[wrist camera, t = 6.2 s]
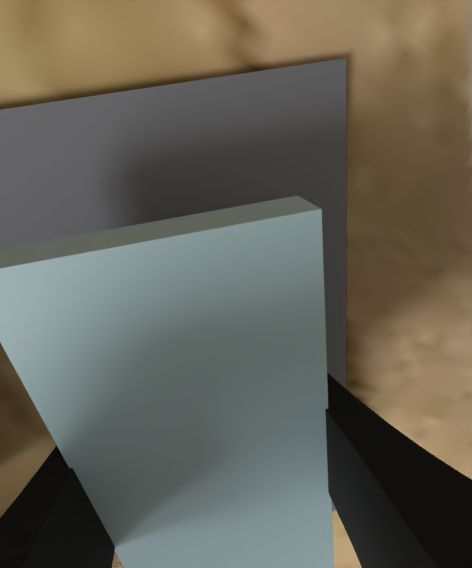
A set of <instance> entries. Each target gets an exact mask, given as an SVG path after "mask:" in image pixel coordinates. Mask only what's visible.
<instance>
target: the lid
mask: <svg viewBox="0 0 472 568" xmlns="http://www.w3.org/2000/svg"><path fill="white" fill-rule="evenodd" d="M0 343H1V345H2V346H3V348H4V350H5V352H6V354H7V355H8V357H9V359H10V361H11V363H12V365H13V366H14V368H15V370H16V372H17V374H18V376H19V377H20V379H21V381H22V383H23V385H24V386H25V388H26V390H27V392H28V394H29V396H30V397H31V399H32V401H33V403H34V405H35V407H36V408H37V410H38V412H39V414H40V416H41V417H42V419H43V421H44V423H45V425H46V427H47V428H48V430H49V432H50V434H51V436H52V438H53V439H54V441H55V443H56V445H57V447H58V448H59V450H60V452H61V454H62V456H63V458H64V459H65V461H66V463H67V465H68V467H69V468H73V470H74V472H75V473H76V475H77V477H78V479H79V481H80V483H81V485H82V486H83V488H84V490H85V492H86V494H87V496H88V498H89V499H90V501H91V503H92V505H93V507H94V509H95V511H96V512H97V514H98V516H99V518H100V520H101V522H102V524H103V525H104V527H105V529H106V531H107V533H108V535H109V536H110V538H111V540H112V542H113V544H114V546H115V552H116V554H117V556H118V558H119V560H120V562H121V563H122V565H123V567H124V568H334V561H333V532H332V502H331V497H330V495H329V492H328V466H327V439H326V412H325V409H328V384H327V355H326V326H325V296H324V267H323V237H322V209H321V208H319V207H317V206H315V205H314V204H312V203H310V202H308V201H306V200H305V199H303V198H301V197H299V196H292V197H286V198H281V199H275V200H270V201H264V202H259V203H253V204H248V205H242V206H237V207H231V208H226V209H220V210H215V211H209V212H204V213H198V214H193V215H187V216H181V217H176V218H170V219H165V220H159V221H154V222H148V223H143V224H137V225H132V226H126V227H121V228H115V229H110V230H104V231H99V232H93V233H88V234H82V235H77V236H71V237H66V238H60V239H55V240H49V241H43V242H38V243H32V244H27V245H21V246H16V247H10V248H5V249H2V250H0Z"/></svg>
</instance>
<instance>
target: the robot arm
mask: <svg viewBox="0 0 472 568" xmlns="http://www.w3.org/2000/svg"><path fill="white" fill-rule="evenodd" d="M327 384H328V409H325V412H326V439H327V466H328V492H329V495H330V497H331V500H332V502H333V504H334V506H335V508H336V510H337V512H338V515H339V517H340V519H341V521H342V523H343V525H344V527H345V530H346V532H347V534H348V536H349V538H350V540H351V543H352V545H353V547H354V550H355V552H356V554H357V557H358V559H359V561H360V564H361V566H362V568H472V480H471V479H470V478H468V477H466V476H465V475H463V474H461V473H460V472H458V471H457V470H455V469H454V468H452V467H451V466H449V465H447V464H446V463H444V462H443V461H441V460H440V459H438V458H437V457H435V456H434V455H432V454H431V453H429V452H428V451H426V450H425V449H423V448H422V447H420V446H419V445H418V444H416V443H415V442H413V441H412V440H411V439H409V438H408V437H406V436H405V435H404V434H402V433H401V432H400V431H398V430H397V429H395V428H394V427H393V426H392V425H390V424H389V423H388V422H386V421H385V420H384V419H382V418H381V417H380V416H379V415H377V414H376V413H375V412H374V411H372V410H371V409H370V408H369V407H367V406H366V405H365V404H364V403H362V402H361V401H360V400H359V399H358V398H356V397H355V396H354V395H353V394H352V393H350V392H349V391H348V390H347V389H346V388H345V387H344V386H342V385H341V384H340V383H339V382H338V381H337V380H336V379H334V378H333V377H332V376H331V375H330V374H329V373H328V372H327ZM114 551H115V546H114V544H113V542H112V540H111V538H110V536H109V535H108V533H107V531H106V529H105V527H104V525H103V524H102V522H101V520H100V518H99V516H98V514H97V512H96V511H95V509H94V507H93V505H92V503H91V501H90V499H89V498H88V496H87V494H86V492H85V490H84V488H83V486H82V485H81V483H80V481H79V479H78V477H77V475H76V473H75V472H74V470H73V468H69V467H68V465H67V463H66V461H65V459H64V458H63V456H62V454H61V452H60V450H59V448H58V447H57V446H56V447H55V449H54V450H53V451H52V453H51V454H50V455H49V457H48V458H47V459H46V461H45V462H44V463H43V465H42V466H41V467H40V469H39V470H38V471H37V472H36V474H35V475H34V476H33V478H32V479H31V480H30V482H29V483H28V484H27V486H26V487H25V488H24V489H23V491H22V492H21V493H20V495H19V496H18V497H17V498H16V500H15V501H14V502H13V503H12V504H11V506H10V507H9V508H8V509H7V511H6V512H5V513H4V514H3V515H2V517H1V518H0V568H111V567H112V562H113V556H114Z"/></svg>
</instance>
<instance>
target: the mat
mask: <svg viewBox="0 0 472 568" xmlns="http://www.w3.org/2000/svg"><path fill="white" fill-rule="evenodd" d="M292 196H299V197H301V198H303V199H305V200H306V201H308V202H310V203H312V204H314V205H315V206H317V207H319V208H321V209H322V237H323V267H324V296H325V326H326V355H327V372H328V373H329V374H330V375H331V376H332V377H333V378H334V379H336V380H337V381H338V382H339V383H340V384H341V385H342V386H344V387H345V388H346V58H343V59H336V60H329V61H323V62H316V63H309V64H303V65H296V66H289V67H283V68H276V69H269V70H263V71H256V72H249V73H242V74H236V75H229V76H222V77H216V78H209V79H202V80H196V81H189V82H182V83H176V84H169V85H162V86H156V87H149V88H142V89H135V90H129V91H122V92H115V93H109V94H102V95H95V96H89V97H82V98H75V99H69V100H62V101H55V102H49V103H42V104H35V105H28V106H22V107H15V108H8V109H2V110H0V250H2V249H5V248H10V247H16V246H21V245H27V244H32V243H38V242H43V241H49V240H55V239H60V238H66V237H71V236H77V235H82V234H88V233H93V232H99V231H104V230H110V229H115V228H121V227H126V226H132V225H137V224H143V223H148V222H154V221H159V220H165V219H170V218H176V217H181V216H187V215H193V214H198V213H204V212H209V211H215V210H220V209H226V208H231V207H237V206H242V205H248V204H253V203H259V202H264V201H270V200H275V199H281V198H286V197H292ZM331 502H332V500H331ZM335 510H336V508H335V506H334V504H333V502H332V511H335Z"/></svg>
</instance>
